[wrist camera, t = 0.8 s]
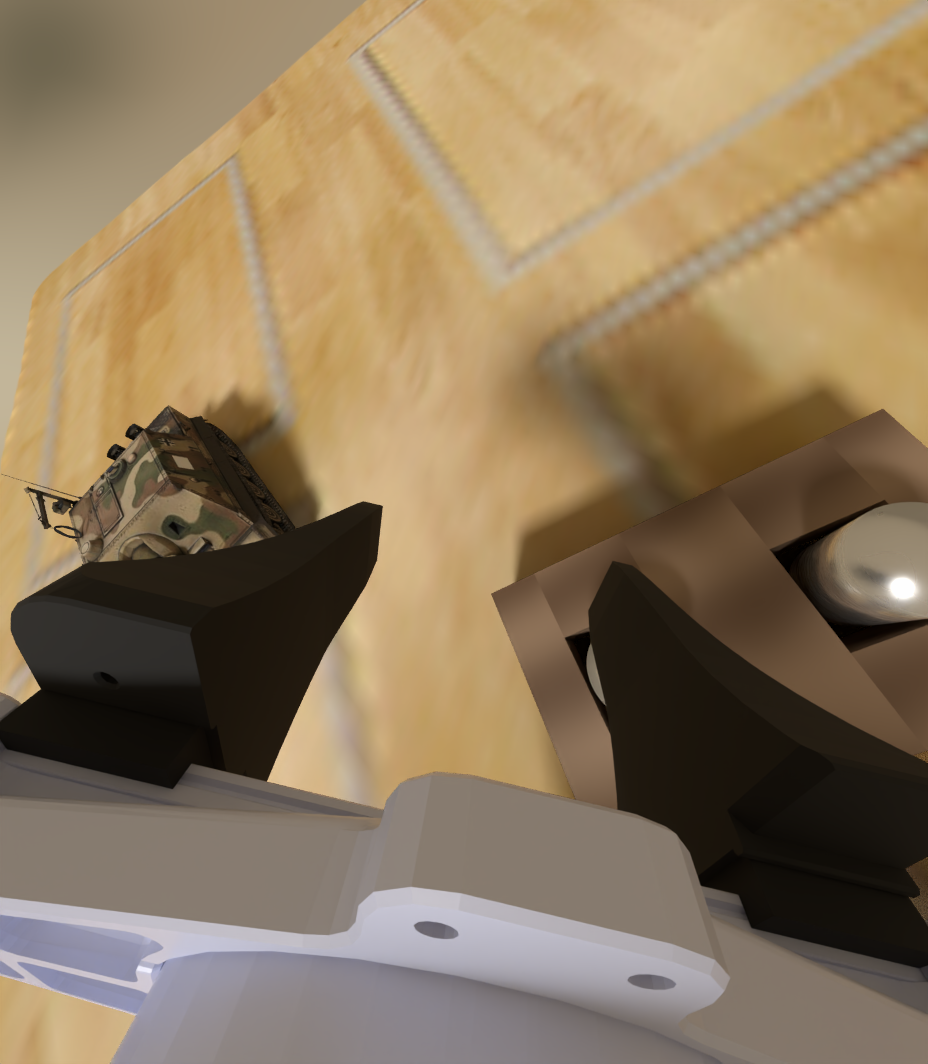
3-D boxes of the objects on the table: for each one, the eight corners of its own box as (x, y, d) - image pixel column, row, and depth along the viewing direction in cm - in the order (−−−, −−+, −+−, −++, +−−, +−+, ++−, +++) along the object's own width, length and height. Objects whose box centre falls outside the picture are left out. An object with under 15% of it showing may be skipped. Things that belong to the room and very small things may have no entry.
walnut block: (1028, 668, 17) (1179, 672, 12) (600, 811, 21) (597, 853, 16) (827, 460, 22) (883, 408, 17) (512, 605, 26) (491, 593, 21)
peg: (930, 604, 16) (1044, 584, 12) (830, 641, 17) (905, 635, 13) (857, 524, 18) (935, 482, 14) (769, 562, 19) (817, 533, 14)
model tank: (217, 661, 33) (-47, 662, 20) (150, 509, 43) (-57, 442, 30) (318, 553, 33) (118, 481, 20) (226, 425, 43) (52, 320, 30)
